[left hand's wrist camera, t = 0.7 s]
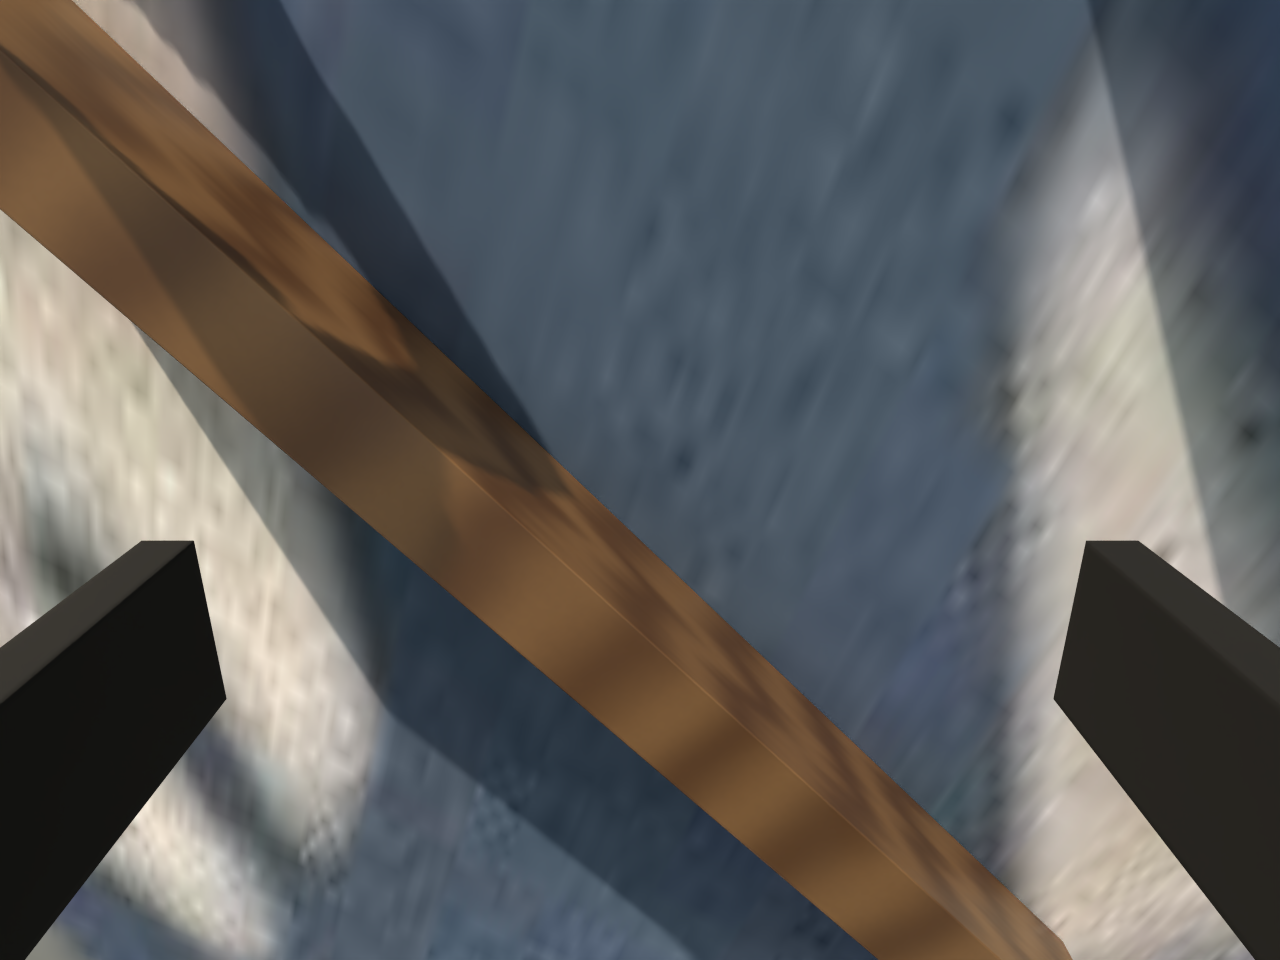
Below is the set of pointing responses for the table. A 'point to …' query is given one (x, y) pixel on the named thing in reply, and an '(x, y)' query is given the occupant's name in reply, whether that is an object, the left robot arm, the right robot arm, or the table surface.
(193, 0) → the table surface
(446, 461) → the bar
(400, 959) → the table surface
